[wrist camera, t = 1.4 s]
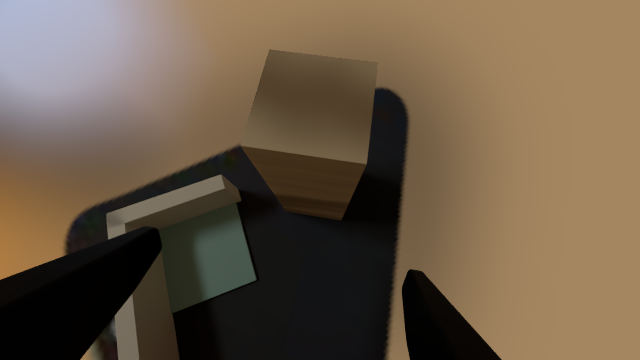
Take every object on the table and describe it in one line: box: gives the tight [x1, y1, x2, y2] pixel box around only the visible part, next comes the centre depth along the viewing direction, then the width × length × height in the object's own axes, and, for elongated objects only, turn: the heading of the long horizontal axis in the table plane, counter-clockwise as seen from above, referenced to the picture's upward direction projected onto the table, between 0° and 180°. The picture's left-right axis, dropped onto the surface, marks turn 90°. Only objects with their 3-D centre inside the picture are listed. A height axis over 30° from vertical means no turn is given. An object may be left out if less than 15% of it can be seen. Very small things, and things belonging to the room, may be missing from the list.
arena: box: [106, 175, 257, 360], centre depth 18 cm, size 13×9×4 cm
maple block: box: [240, 50, 378, 220], centre depth 16 cm, size 5×5×13 cm
